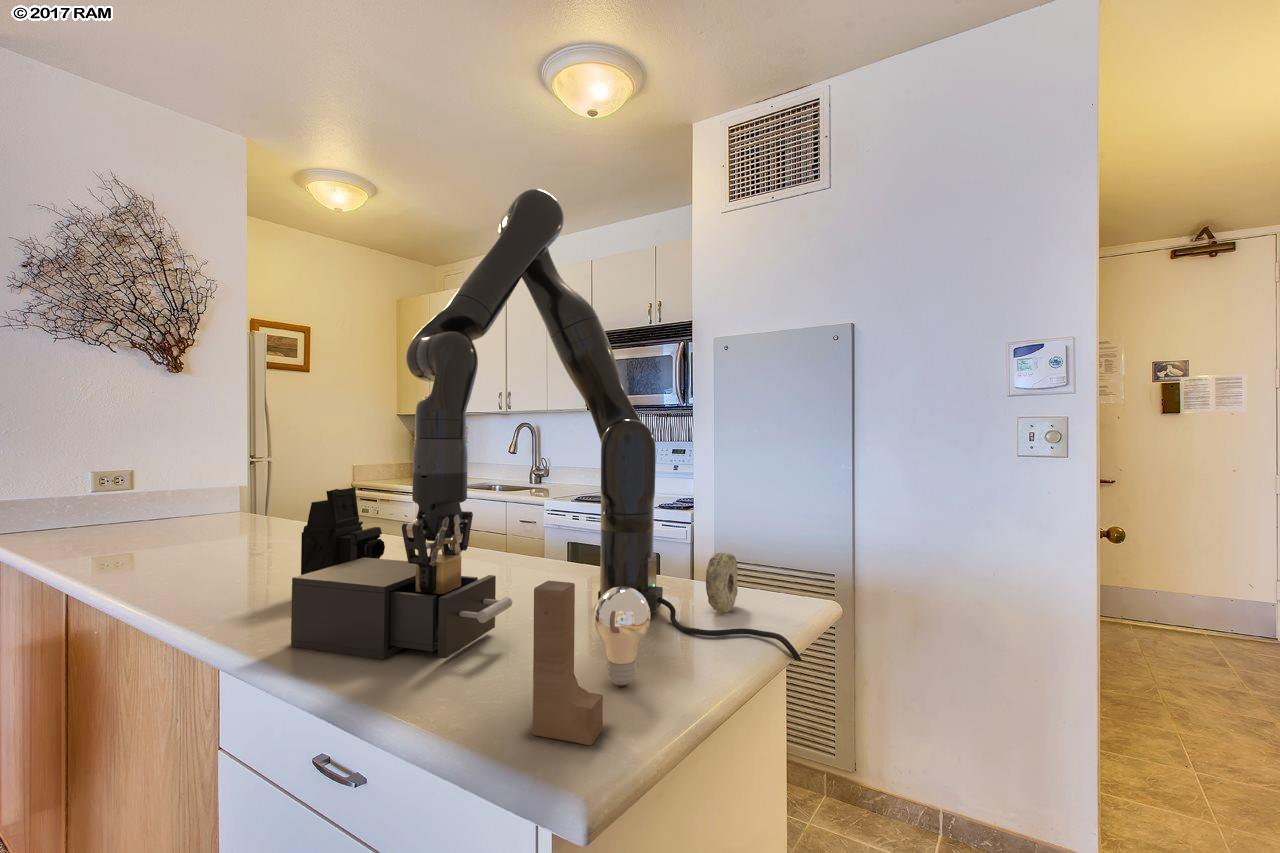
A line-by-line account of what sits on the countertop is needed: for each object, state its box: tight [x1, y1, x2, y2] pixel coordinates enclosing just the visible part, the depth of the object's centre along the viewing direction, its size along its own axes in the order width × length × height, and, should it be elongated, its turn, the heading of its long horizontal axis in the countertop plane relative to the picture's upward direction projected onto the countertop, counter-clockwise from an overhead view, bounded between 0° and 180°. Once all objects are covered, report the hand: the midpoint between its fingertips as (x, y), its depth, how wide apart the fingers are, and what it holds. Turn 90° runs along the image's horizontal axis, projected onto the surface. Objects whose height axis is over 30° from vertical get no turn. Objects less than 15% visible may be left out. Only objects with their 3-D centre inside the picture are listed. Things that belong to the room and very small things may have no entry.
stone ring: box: [705, 552, 739, 613], centre depth 99 cm, size 10×4×10 cm, turn 150°
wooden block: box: [531, 580, 604, 746], centre depth 58 cm, size 7×3×15 cm, turn 73°
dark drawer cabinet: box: [290, 558, 416, 660], centre depth 85 cm, size 16×14×10 cm
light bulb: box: [593, 586, 652, 688], centre depth 69 cm, size 7×7×12 cm
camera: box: [300, 486, 386, 575], centre depth 105 cm, size 10×14×20 cm
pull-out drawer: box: [388, 574, 513, 659], centre depth 82 cm, size 19×13×8 cm, turn 74°
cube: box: [416, 553, 462, 594], centre depth 82 cm, size 4×4×4 cm
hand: (439, 586), depth 82 cm, fingers closed on cube, 4 cm apart
